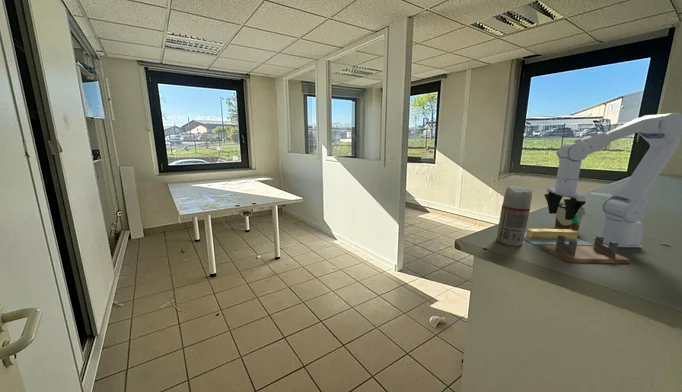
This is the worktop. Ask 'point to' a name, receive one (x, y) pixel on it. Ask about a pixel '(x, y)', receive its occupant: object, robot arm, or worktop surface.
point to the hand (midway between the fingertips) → (560, 216)
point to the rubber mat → (554, 241)
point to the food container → (568, 224)
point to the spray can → (514, 215)
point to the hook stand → (586, 251)
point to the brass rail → (551, 234)
